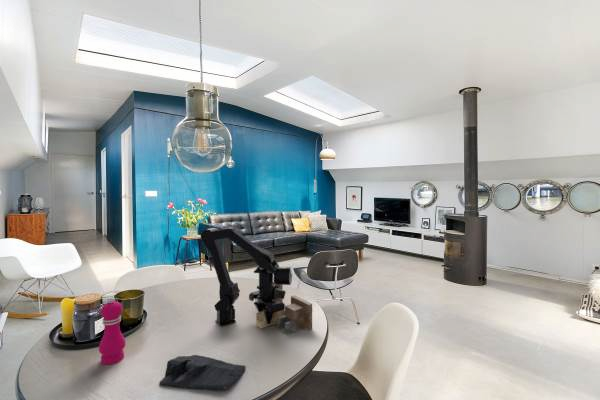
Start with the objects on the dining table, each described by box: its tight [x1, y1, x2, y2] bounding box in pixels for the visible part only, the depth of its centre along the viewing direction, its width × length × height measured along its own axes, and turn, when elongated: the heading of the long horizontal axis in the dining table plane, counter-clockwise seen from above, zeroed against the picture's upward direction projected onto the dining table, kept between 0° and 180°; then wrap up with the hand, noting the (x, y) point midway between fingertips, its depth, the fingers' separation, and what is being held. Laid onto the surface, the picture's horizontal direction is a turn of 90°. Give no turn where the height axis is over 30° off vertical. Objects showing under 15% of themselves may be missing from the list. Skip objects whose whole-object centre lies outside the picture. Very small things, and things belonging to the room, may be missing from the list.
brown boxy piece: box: [276, 295, 313, 335], centre depth 118 cm, size 10×12×10 cm
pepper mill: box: [98, 297, 126, 366], centre depth 95 cm, size 7×7×20 cm
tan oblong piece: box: [255, 309, 285, 329], centre depth 122 cm, size 14×4×5 cm, turn 128°
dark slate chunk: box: [159, 354, 247, 391], centre depth 87 cm, size 15×22×5 cm
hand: (266, 321), depth 120 cm, fingers closed on tan oblong piece, 3 cm apart
